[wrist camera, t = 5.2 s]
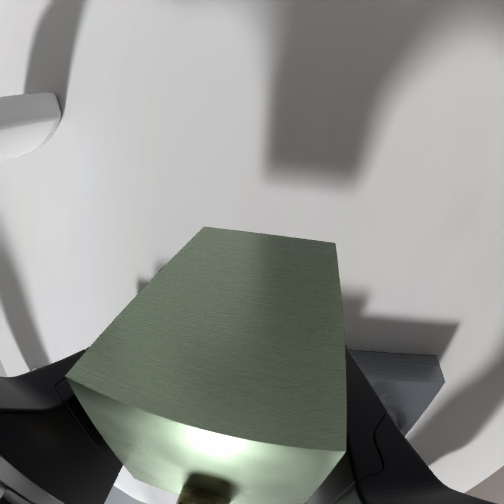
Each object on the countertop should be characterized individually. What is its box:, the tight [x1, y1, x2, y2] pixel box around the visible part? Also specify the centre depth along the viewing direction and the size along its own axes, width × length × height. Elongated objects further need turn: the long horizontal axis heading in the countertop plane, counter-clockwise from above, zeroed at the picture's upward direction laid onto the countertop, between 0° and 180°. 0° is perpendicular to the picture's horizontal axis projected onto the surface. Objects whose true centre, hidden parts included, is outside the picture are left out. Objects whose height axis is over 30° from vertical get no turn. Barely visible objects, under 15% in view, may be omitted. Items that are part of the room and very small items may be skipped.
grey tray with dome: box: [349, 350, 445, 436], centre depth 19 cm, size 21×13×4 cm, turn 88°
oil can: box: [65, 227, 347, 504], centre depth 7 cm, size 4×5×8 cm
